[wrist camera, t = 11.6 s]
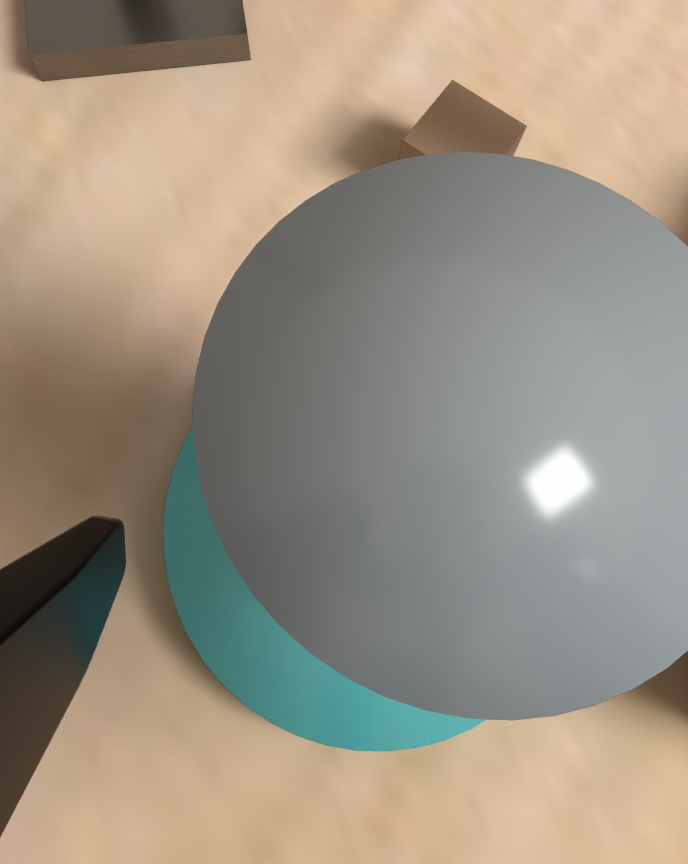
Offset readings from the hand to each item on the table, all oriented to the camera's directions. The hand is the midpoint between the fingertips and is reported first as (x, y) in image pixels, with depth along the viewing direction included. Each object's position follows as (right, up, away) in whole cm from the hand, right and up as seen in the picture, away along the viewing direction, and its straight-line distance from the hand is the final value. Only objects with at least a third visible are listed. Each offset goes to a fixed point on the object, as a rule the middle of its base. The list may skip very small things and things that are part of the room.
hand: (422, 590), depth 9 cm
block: (+3, +12, +14) cm, 19 cm away
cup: (0, 0, +10) cm, 10 cm away
